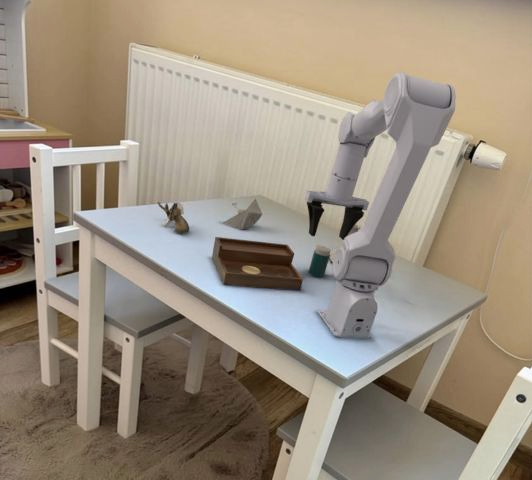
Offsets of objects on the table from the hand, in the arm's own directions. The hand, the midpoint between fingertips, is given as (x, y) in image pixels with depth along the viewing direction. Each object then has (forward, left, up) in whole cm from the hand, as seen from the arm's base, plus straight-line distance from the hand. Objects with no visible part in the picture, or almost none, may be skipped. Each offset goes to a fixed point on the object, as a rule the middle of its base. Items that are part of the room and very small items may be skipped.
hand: (326, 236), depth 116 cm
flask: (+9, -11, -10) cm, 17 cm away
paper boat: (+29, +11, -10) cm, 32 cm away
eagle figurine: (+21, +31, -10) cm, 39 cm away
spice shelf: (-3, +16, -9) cm, 19 cm away
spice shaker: (0, 0, -9) cm, 9 cm away
